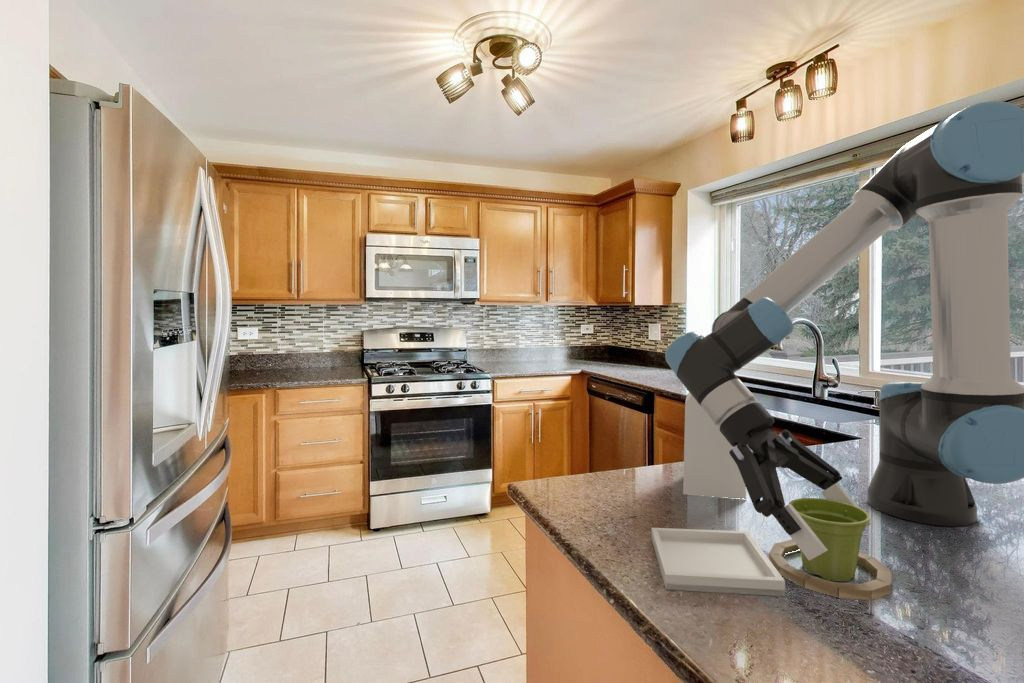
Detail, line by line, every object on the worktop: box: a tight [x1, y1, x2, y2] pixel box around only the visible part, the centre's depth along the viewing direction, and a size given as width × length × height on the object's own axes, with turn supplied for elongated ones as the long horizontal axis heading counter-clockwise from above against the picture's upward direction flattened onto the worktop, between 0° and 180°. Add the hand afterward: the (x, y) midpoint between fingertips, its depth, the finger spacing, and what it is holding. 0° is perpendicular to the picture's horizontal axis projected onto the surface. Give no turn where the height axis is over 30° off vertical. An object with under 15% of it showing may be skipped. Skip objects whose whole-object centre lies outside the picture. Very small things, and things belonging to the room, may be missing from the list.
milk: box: [682, 391, 747, 500], centre depth 102 cm, size 12×12×26 cm
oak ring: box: [768, 538, 893, 601], centre depth 68 cm, size 14×14×1 cm
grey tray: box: [651, 527, 786, 597], centre depth 71 cm, size 15×15×2 cm
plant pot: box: [788, 497, 871, 582], centre depth 68 cm, size 9×9×9 cm
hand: (842, 541), depth 66 cm, fingers open, 13 cm apart
